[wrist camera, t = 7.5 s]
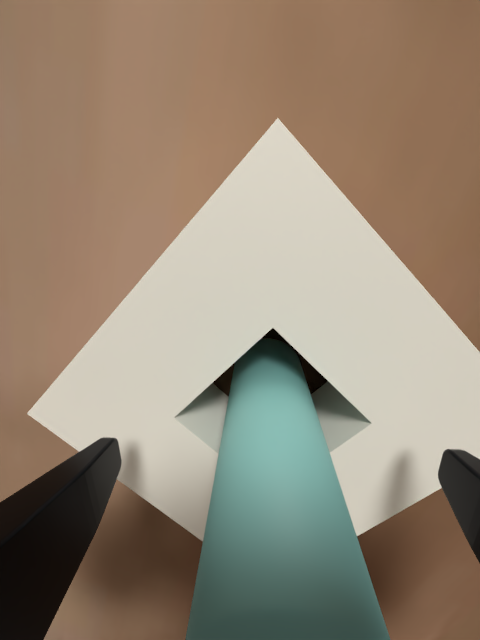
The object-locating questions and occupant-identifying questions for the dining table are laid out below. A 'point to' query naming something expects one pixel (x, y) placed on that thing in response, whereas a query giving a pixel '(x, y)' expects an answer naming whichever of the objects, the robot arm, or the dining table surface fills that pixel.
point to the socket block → (295, 327)
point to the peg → (279, 520)
